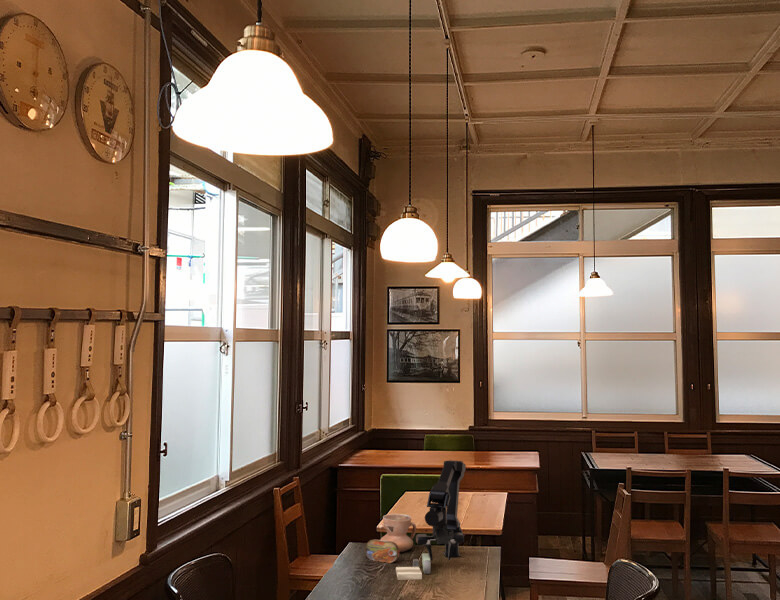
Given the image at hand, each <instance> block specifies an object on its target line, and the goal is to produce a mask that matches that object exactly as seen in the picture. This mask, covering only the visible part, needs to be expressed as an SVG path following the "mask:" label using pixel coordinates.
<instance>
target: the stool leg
mask: <svg viewBox="0 0 780 600" xmlns="http://www.w3.org/2000/svg"><path fill="white" fill-rule="evenodd" d="M421 561H422V562H421V564H422V569H423V573H424V574H426V575H429V574H431V569H432V568H431V567H432V565H431V563H432V561H431V558H430V555H429V552H427V553H422V554H421Z"/></svg>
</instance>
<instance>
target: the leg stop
mask: <svg viewBox="0 0 780 600" xmlns="http://www.w3.org/2000/svg"><path fill="white" fill-rule="evenodd" d="M419 564H420V562H419V559H418V558H415V559H414V558H413V559H412V567H419V568H420V565H419Z"/></svg>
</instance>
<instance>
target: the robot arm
mask: <svg viewBox="0 0 780 600" xmlns="http://www.w3.org/2000/svg"><path fill="white" fill-rule="evenodd" d="M442 466H443V467H442V471H441V473H440V476H439V478H438V481H437V483H435V484H433V486H432V488H431V490H429V493H428V497H427V498H428V499H427V504H426V507H427V508H429V511H428V512H427V513H425V516H424V521H425V523H426V524H427V525H428V526H429V527H432V535H427V534H426V533H418V534H415V535H416V536H415V542H416V544H417V545H422V546H423V547H426V549H427V553H428V554H429V558H430V562H433V551H432V544H431V542H436V544H438V545H442V544H444V551H443V552H442V553H443V555H444V557H445V558H448V561H451V558H456V557H458V558H460V557H462V555H461V554H460V551H459V550H460V547H459V545H460V544H463V543H465V536H464V533H463V530H462V527H461V523H460V521H459V518H458V509H459V497H460V496H459V493H460V482H462V480H463V478H464V476H465V472H466V470H467V468H466V464H465V463H464V461H463V460H452V459H450V460H444V462H443V465H442Z"/></svg>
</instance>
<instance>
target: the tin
mask: <svg viewBox="0 0 780 600" xmlns="http://www.w3.org/2000/svg"><path fill="white" fill-rule="evenodd" d="M364 552H365V556H366V557H367V559H368V560H370V561H372V560H373V561H372V562H378V561H379V562H378V563H384V562H386V564H392V563H394V562H396V561H398V558H399V557H400V552H399V547H398V546H397V544H396V543H394V542H392V541H385V540H381V539H375V538H374V539H370V540H369V541H367V543H366V544H365V548H364Z"/></svg>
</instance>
